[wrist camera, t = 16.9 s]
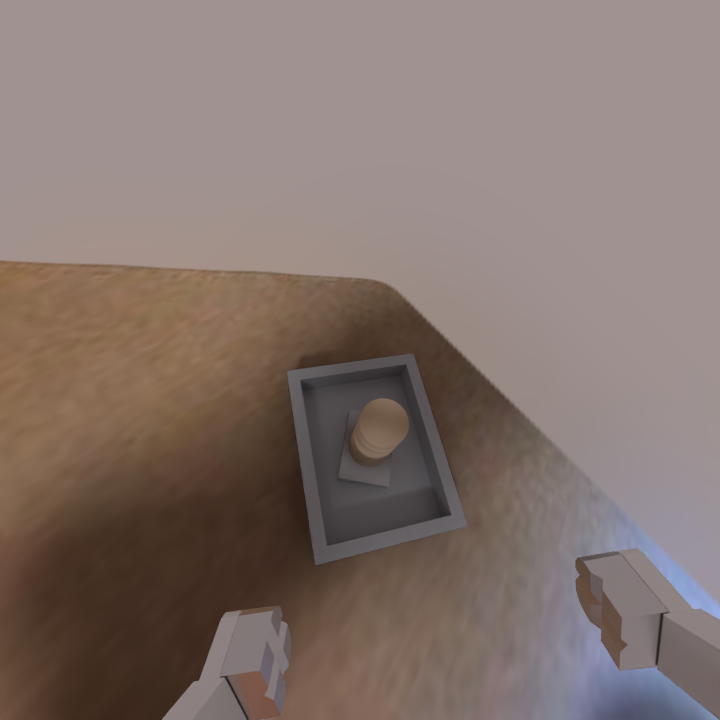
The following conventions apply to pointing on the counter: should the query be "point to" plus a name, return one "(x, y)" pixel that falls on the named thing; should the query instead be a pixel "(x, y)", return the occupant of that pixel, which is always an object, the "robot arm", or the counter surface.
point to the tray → (408, 466)
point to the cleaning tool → (372, 442)
